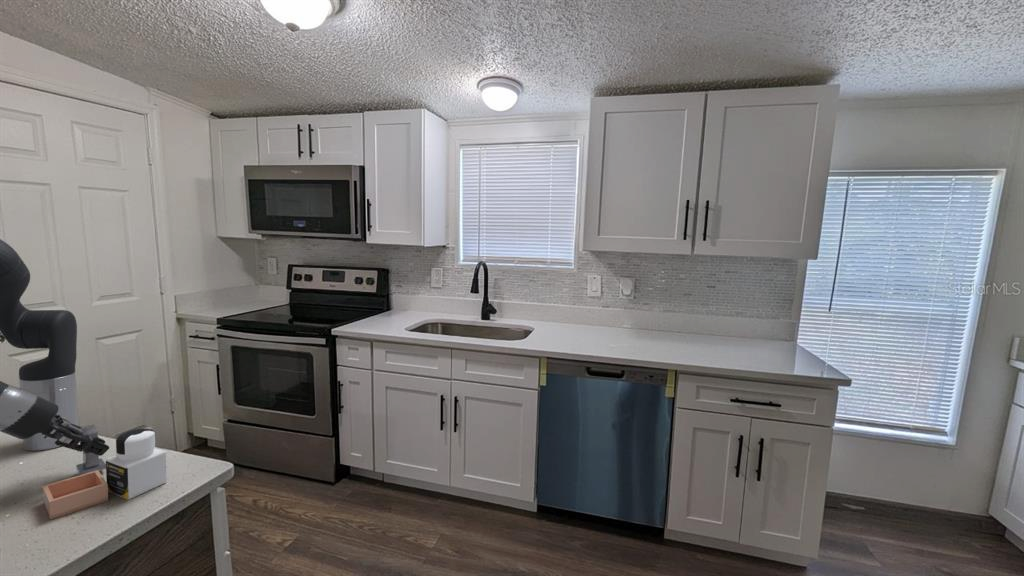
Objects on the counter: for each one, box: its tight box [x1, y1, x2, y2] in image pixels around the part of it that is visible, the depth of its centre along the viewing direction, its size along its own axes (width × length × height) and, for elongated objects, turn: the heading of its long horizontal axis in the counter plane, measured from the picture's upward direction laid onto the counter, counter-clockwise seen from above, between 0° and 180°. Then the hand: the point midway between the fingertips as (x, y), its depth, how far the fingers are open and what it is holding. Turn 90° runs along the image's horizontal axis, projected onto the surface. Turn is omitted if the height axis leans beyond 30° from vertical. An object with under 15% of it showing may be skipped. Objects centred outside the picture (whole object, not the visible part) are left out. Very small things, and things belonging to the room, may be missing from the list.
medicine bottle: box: [105, 428, 168, 501], centre depth 88 cm, size 7×7×12 cm
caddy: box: [42, 470, 109, 521], centre depth 82 cm, size 8×8×4 cm
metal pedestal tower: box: [75, 423, 106, 476], centre depth 92 cm, size 4×4×10 cm
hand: (103, 448), depth 93 cm, fingers closed on metal pedestal tower, 3 cm apart
